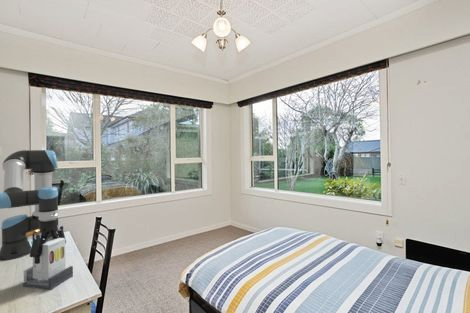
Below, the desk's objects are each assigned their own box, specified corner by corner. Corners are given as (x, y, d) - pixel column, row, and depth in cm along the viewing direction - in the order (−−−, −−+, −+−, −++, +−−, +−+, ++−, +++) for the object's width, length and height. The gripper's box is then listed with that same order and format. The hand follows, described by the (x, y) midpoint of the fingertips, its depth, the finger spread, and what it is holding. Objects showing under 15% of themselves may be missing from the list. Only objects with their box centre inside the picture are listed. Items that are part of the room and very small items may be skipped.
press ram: (45, 269, 123) (44, 226, 123) (48, 269, 123) (48, 226, 122) (23, 281, 113) (22, 233, 112) (27, 281, 112) (26, 233, 112)
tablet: (52, 246, 160) (52, 243, 160) (29, 251, 152) (29, 248, 152) (48, 238, 174) (48, 236, 174) (27, 242, 166) (27, 240, 166)
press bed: (46, 273, 124) (46, 263, 124) (72, 276, 121) (72, 266, 121) (22, 286, 112) (22, 275, 112) (51, 289, 110) (50, 278, 109)
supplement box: (48, 280, 111) (47, 245, 111) (32, 278, 113) (31, 243, 112) (66, 270, 120) (65, 237, 120) (51, 268, 122) (50, 236, 122)
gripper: (32, 226, 104) (33, 277, 105) (74, 213, 126) (74, 255, 127) (18, 225, 106) (19, 275, 106) (62, 212, 127) (62, 253, 128)
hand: (49, 264), depth 117 cm, fingers closed on supplement box, 9 cm apart
